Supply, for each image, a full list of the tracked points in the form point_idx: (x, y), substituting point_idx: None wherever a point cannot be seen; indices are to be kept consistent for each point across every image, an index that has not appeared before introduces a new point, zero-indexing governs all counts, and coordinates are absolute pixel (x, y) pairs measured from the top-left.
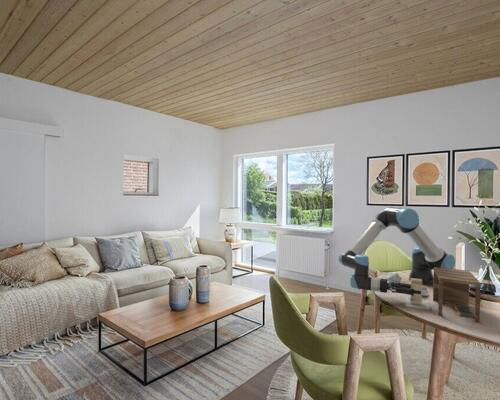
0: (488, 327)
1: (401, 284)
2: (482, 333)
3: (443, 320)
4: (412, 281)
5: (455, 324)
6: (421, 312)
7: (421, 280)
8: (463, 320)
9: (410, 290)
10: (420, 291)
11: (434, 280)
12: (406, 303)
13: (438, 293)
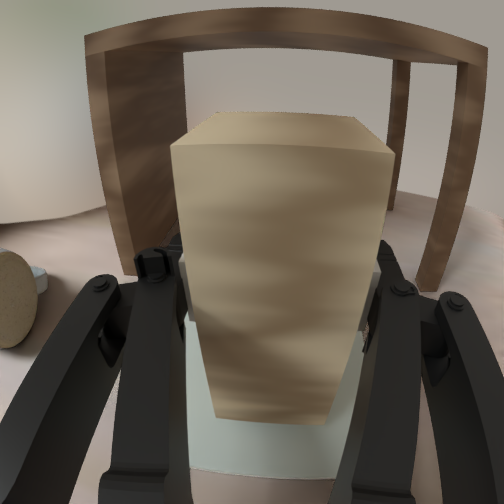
0: (413, 199)
1: (119, 428)
2: (478, 219)
3: (475, 282)
4: (387, 166)
5: (477, 256)
6: None
7: (284, 112)
8: (407, 230)
9: (474, 315)
10: (383, 242)
11: (114, 132)
12: (315, 468)
13: (141, 212)
